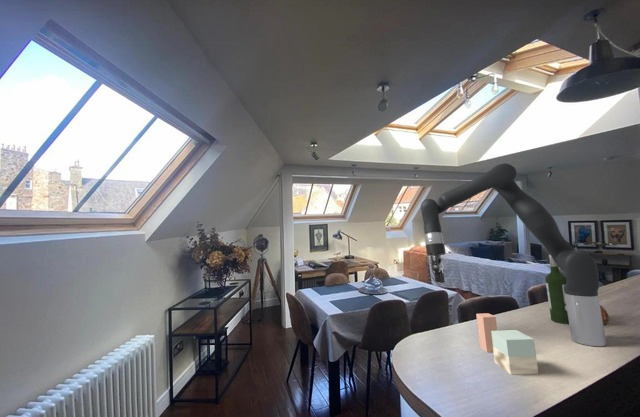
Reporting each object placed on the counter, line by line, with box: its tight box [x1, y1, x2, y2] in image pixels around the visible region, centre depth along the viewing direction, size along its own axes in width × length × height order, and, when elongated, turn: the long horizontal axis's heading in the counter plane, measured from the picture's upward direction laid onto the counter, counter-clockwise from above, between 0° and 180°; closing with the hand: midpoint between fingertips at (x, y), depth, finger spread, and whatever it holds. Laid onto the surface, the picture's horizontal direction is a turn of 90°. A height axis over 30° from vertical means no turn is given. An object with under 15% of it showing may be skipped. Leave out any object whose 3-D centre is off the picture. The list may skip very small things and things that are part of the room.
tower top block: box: [491, 329, 537, 358], centre depth 84 cm, size 8×8×5 cm
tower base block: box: [492, 347, 539, 376], centre depth 84 cm, size 8×8×5 cm
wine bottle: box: [544, 254, 569, 325], centre depth 123 cm, size 8×8×30 cm
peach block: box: [475, 312, 498, 353], centre depth 98 cm, size 4×4×12 cm
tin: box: [600, 304, 610, 325], centre depth 120 cm, size 15×3×8 cm, turn 168°
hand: (440, 282), depth 112 cm, fingers open, 8 cm apart
